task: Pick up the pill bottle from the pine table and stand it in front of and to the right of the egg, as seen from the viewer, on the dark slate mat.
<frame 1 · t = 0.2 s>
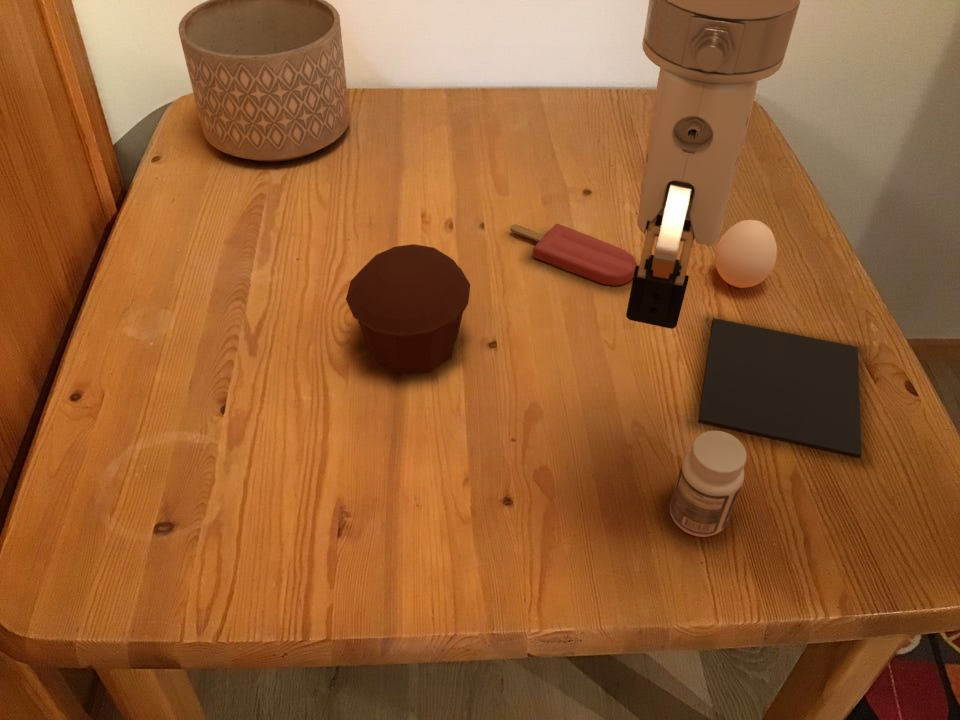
hand: (661, 274, 57), 22 cm above the table, tool pointing down, fingers open, 9 cm apart
muffin: (411, 344, 83), on the table
slate mat: (780, 384, 80), on the table
planter: (278, 132, 110), on the table
popsicle: (569, 257, 93), on the table
pill bottle: (697, 515, 70), on the table
egg: (737, 283, 90), on the table
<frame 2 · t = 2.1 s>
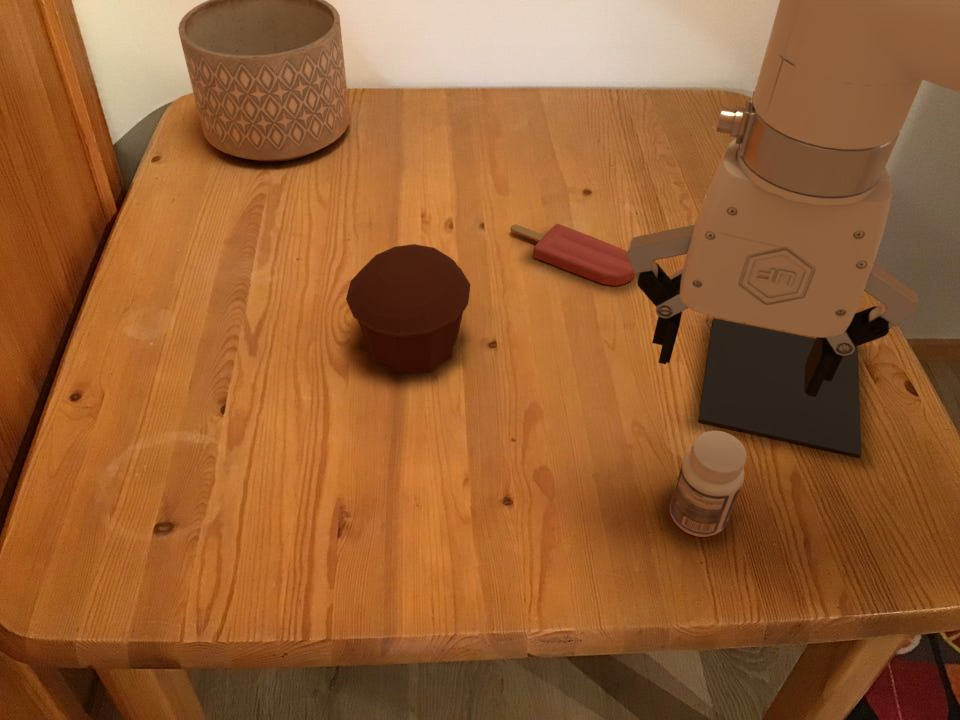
hand: (736, 365, 58), 17 cm above the table, tool pointing down, fingers open, 9 cm apart
nothing on the table moved.
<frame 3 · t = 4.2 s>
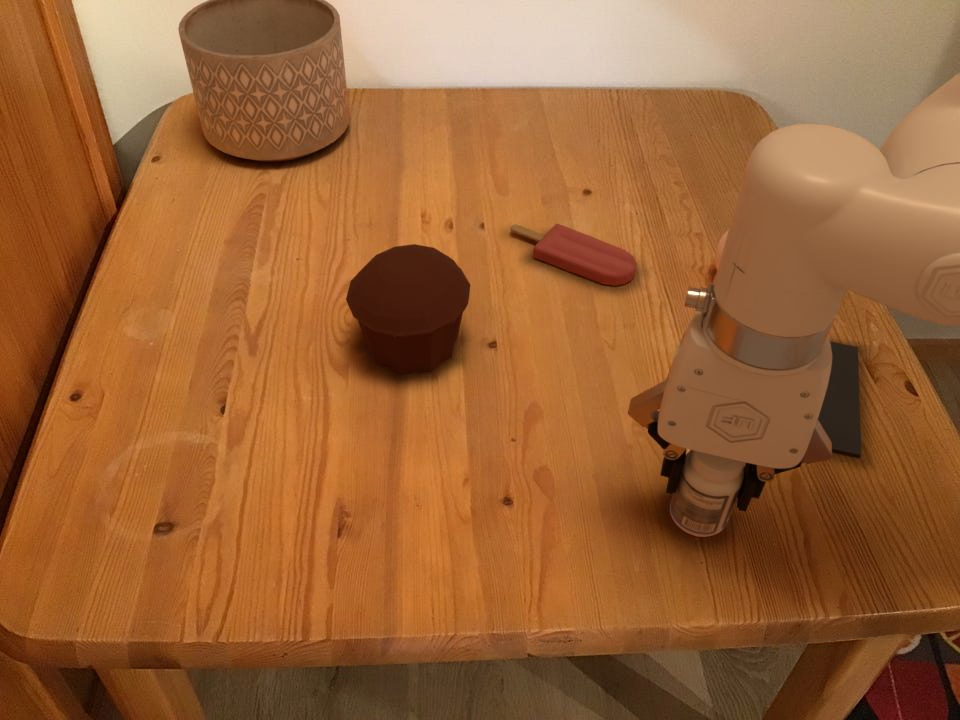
hand: (707, 486, 67), 4 cm above the table, tool pointing down, fingers closed on pill bottle, 4 cm apart
pill bottle: (697, 515, 70), on the table, touching gripper
everything else where it was.
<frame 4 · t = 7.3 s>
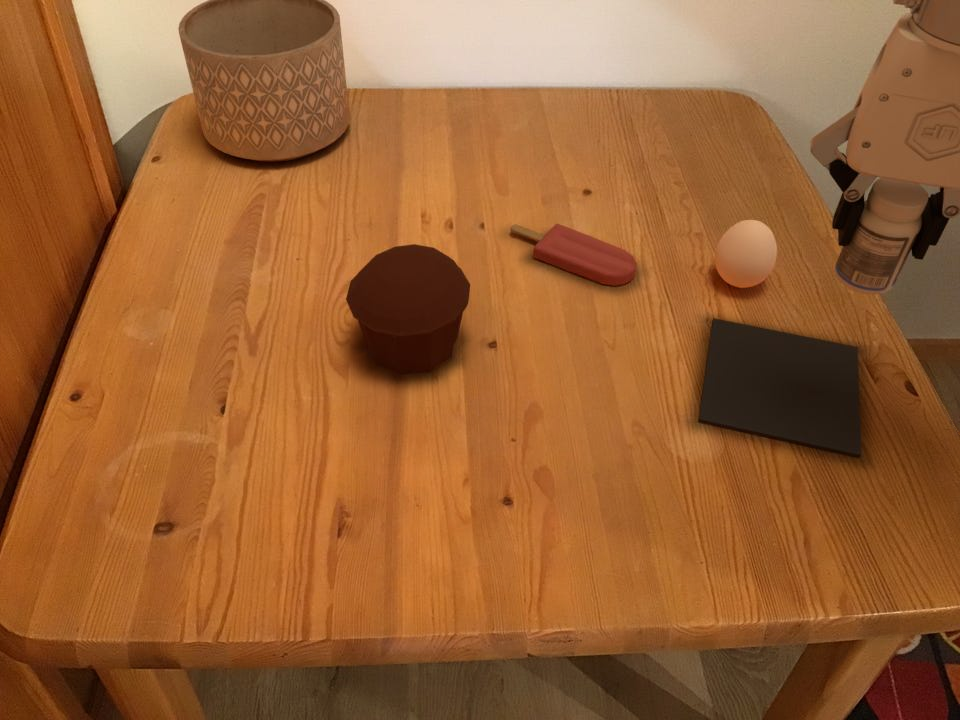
hand: (879, 240, 66), 18 cm above the table, tool pointing down, fingers closed on pill bottle, 4 cm apart
pill bottle: (862, 279, 69), point 14 cm above the table, touching gripper
everything else where it was.
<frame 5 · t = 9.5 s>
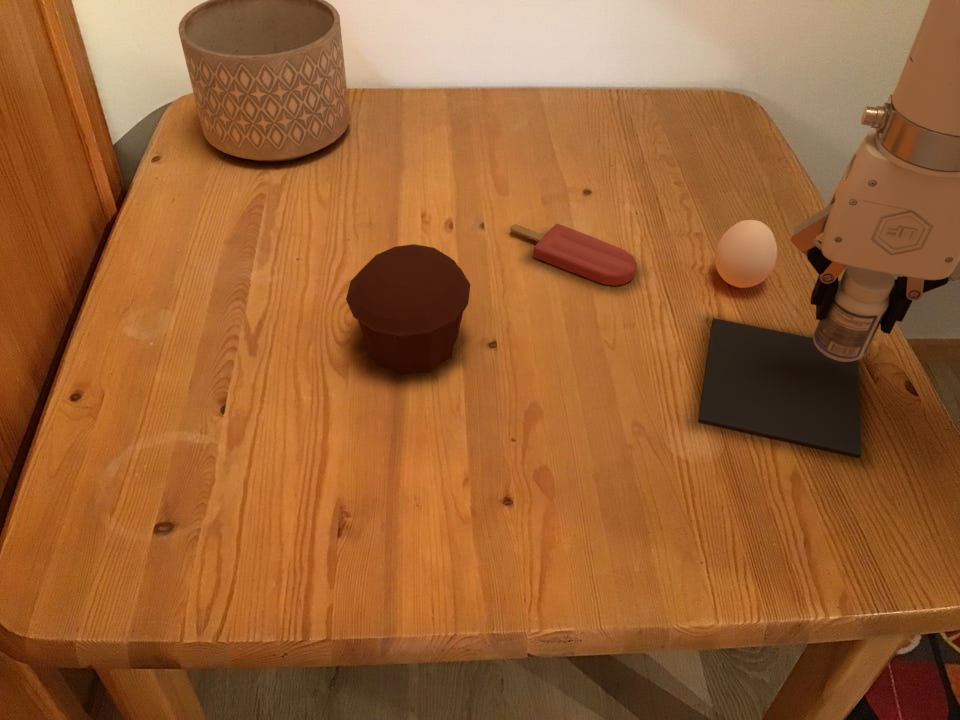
hand: (852, 314, 75), 8 cm above the table, tool pointing down, fingers closed on pill bottle, 4 cm apart
pill bottle: (837, 346, 77), point 4 cm above the table, touching gripper
everything else where it was.
when the fingers open (4 cm above the table, at t = 10.8 s): pill bottle stays where it is, resting on slate mat.
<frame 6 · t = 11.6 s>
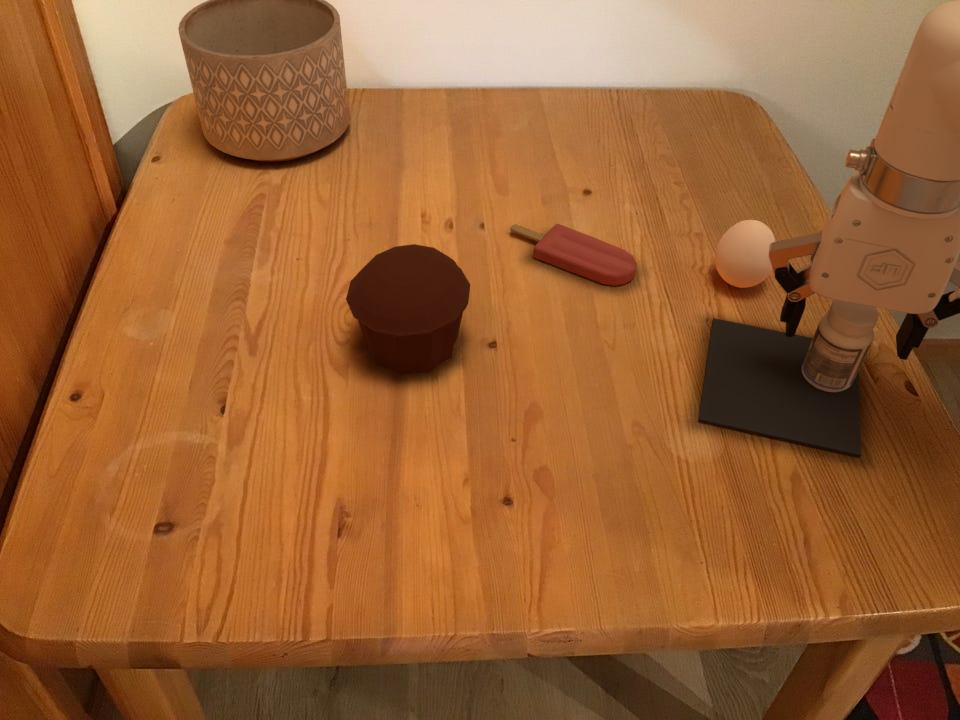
hand: (844, 337, 76), 5 cm above the table, tool pointing down, fingers open, 9 cm apart
pill bottle: (825, 376, 80), resting on slate mat
everything else where it was.
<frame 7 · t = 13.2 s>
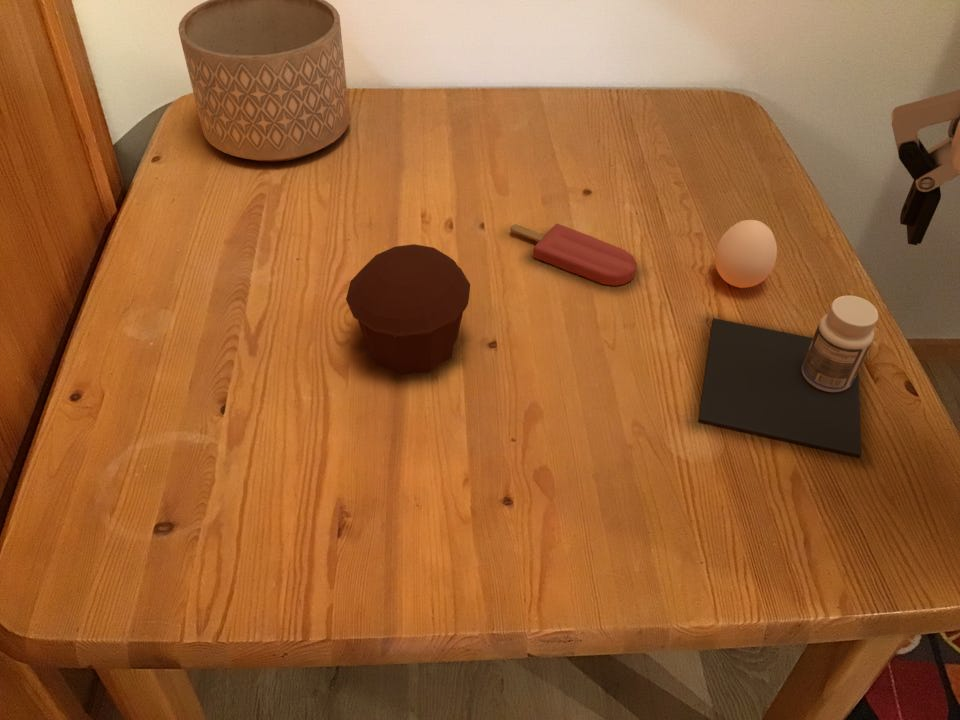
nothing on the table moved.
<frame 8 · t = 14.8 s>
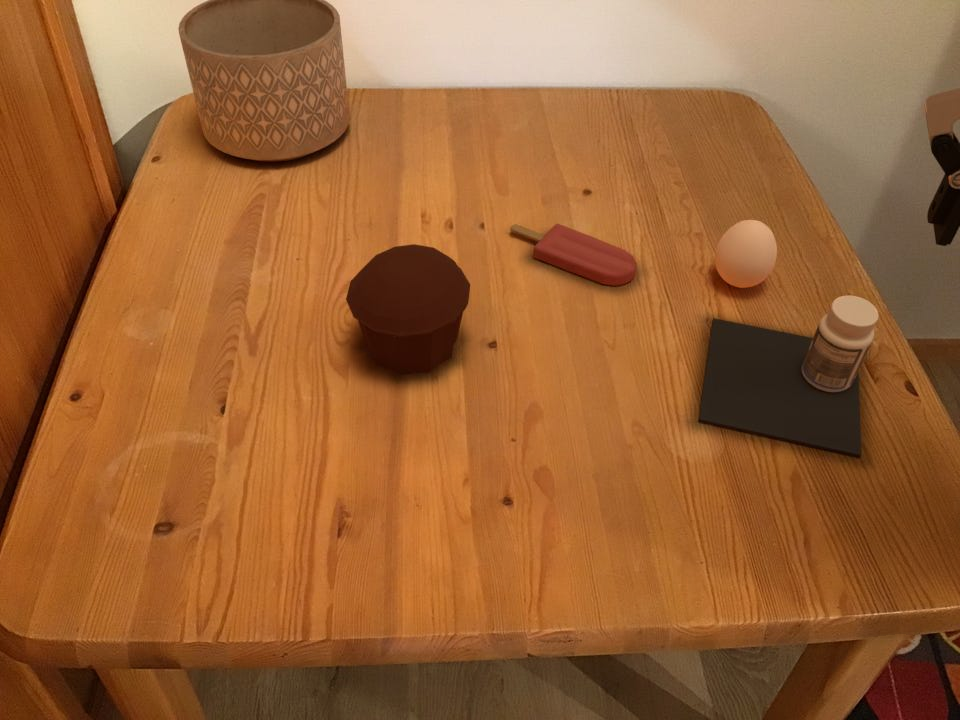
nothing on the table moved.
at the end: pill bottle inside the target area on the table beside the egg (0.5 cm from its centre), resting on slate mat; pill bottle tilted 0°; egg moved 0.2 cm from its start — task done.
